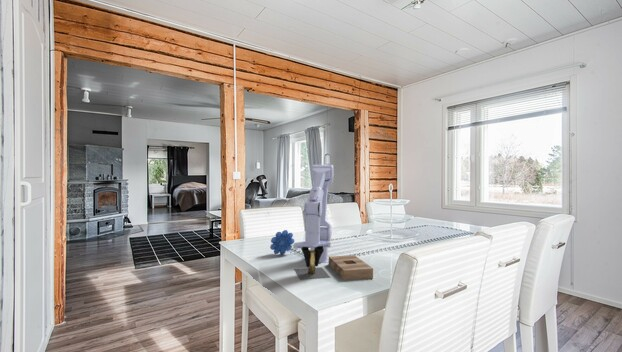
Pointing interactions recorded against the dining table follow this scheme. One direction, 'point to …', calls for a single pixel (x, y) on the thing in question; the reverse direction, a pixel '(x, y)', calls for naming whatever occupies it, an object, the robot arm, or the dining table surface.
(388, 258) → the dining table surface
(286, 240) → the blue thick lobed disc
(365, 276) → the walnut block
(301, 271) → the rubber mat
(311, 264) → the brass pin
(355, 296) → the dining table surface
